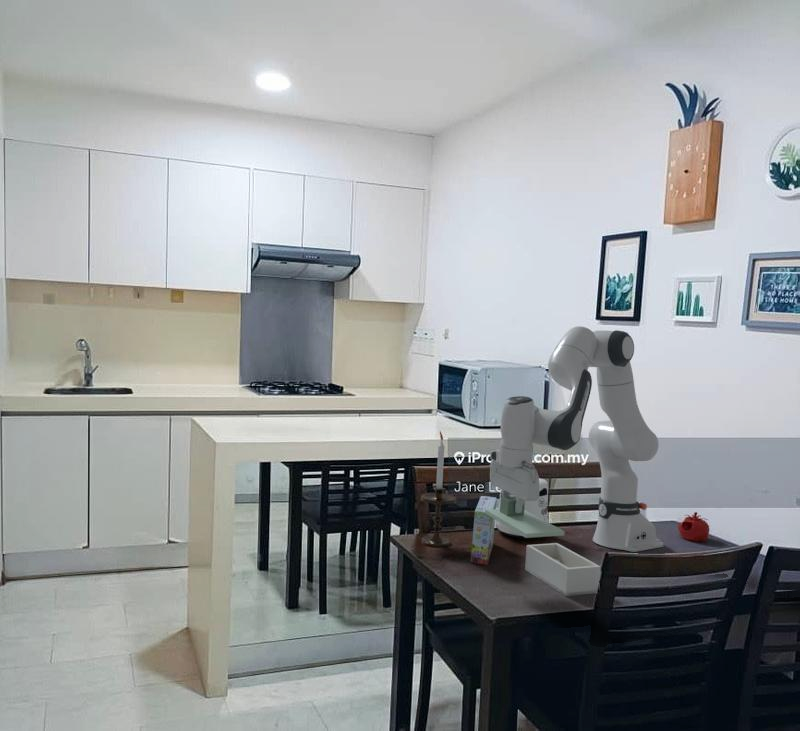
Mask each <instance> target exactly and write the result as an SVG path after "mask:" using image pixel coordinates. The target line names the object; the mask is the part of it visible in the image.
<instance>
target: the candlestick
mask: <svg viewBox="0 0 800 731" xmlns="http://www.w3.org/2000/svg"><path fill="white" fill-rule="evenodd" d="M439 437H440V443H439V444H438V447H437V462H436V463H437V464H436V465H437V467H436V486H435V487H434V486H433V487H432V489H433V490H435V492H426V493H422V494H420V500H421V501H422V502H424V503H427V504H433V505H434V506H435V516H433V517H432V521H433V522H434V525H433V526H432V528H433V529H434V533H433V535H425V536H423V537H422V538H421V544H422V545H425V546H427V547H432V548H445V547H446V546H447V547H449V546H451V544H452V543H451V542H452V539H450V538H448V537H447V536H443V535H441V534H440V529H441V528H442V526H441V525H440V523H441V522H442V520H443V518H442V517H441V506H442V505H443V506H444V505H452V504H455V503H457V497H456V496H455V495H453V494H450V493H445V492H443V491H444V490H446V488H445V487H443V481H444V480H443V479H444V463H445V462H444V459H445V445H444V443H443V440H444V436H443V434H442V432H441V430H439ZM447 547H446V548H447Z"/></svg>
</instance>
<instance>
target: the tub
mask: <svg viewBox="0 0 800 731" xmlns="http://www.w3.org/2000/svg"><path fill="white" fill-rule="evenodd" d="M525 550H526V551H525V565H524V567H525V568H524V570H525V571H526V572H528V573H529V574H531V575H533V576H534V577H536V579H538V580H540V581H541V582H543V583H544V584H546V585H547V586H549V587H551V588H552V589H554V590H555V591H557V592H558V593H560V594H561V595H562V596H564V597H574V596H575V597H576V596H583V595H584V596H585V595H593V594H597V593H596V592H597V588H598V583H599V580H600V579H601V566H600V565H599V564H598V563H597V564H596V563H595V562H593V561H591V560H589V559H587V558H586V557H584V556H582V555H581V554H578V553H577V552H575V551H573V550H571V549H569V548H567V547H566V546H564V545H562V544H560V543H558V542H551V543H541V544H540V543H538V544H536V543H535V544H527V545H526V549H525ZM599 584H600V583H599Z"/></svg>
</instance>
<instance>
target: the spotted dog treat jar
mask: <svg viewBox="0 0 800 731" xmlns="http://www.w3.org/2000/svg"><path fill="white" fill-rule="evenodd" d="M501 491H502V489H500V490H499V503H498V508H497V509H500V503H501V497H502V493H501ZM510 497H516V496H515V495H513V494H510ZM548 499H549V483H548V480H545V479H543V478H540V477H539V498H538V500H537V501H525V507H524V510H526V511H527V512H529V513H531V514H533V515H535V516H537V517H539V518H541V519H542V520H544V521H546V522H548V523H550V517H549V513H548ZM495 524H496V528H497V530H498V531H499V532H501V533H502V534H504V535H507V536H510V537H514V538H519V539H526V538H525V537H523V536H522V535H520V534H518V533H517V532H515V531H514V530H512V529H510V528H509V527H507V526H505V525H504V524H502V523H500V522H499V521H497V520H495ZM537 538H539V537H530V538H529V539H537Z"/></svg>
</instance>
